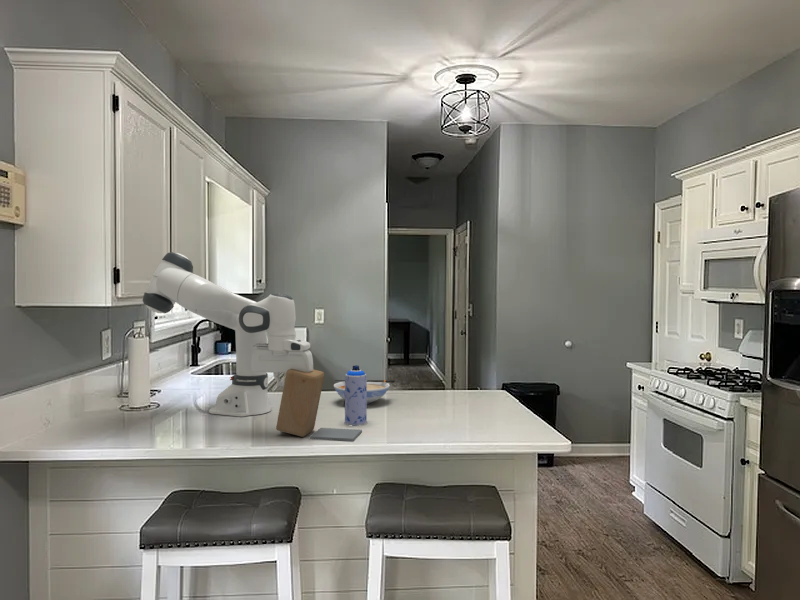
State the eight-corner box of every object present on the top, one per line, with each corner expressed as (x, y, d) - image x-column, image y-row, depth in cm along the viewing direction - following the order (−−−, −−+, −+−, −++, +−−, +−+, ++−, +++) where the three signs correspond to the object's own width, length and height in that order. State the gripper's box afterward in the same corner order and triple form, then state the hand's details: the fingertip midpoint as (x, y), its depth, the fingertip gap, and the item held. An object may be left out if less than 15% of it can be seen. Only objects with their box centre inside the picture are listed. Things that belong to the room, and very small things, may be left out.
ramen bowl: (324, 408, 227) (324, 387, 226) (337, 396, 249) (337, 377, 249) (388, 410, 224) (388, 388, 223) (395, 398, 246) (395, 378, 246)
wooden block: (303, 438, 183) (315, 376, 182) (274, 430, 185) (285, 369, 184) (314, 430, 193) (325, 371, 191) (286, 422, 195) (297, 364, 193)
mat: (309, 439, 182) (309, 436, 182) (320, 430, 193) (320, 427, 193) (353, 441, 180) (353, 438, 180) (361, 432, 191) (361, 429, 191)
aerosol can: (352, 419, 208) (353, 363, 208) (371, 422, 204) (371, 365, 204) (339, 424, 201) (339, 366, 201) (358, 426, 198) (358, 368, 197)
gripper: (247, 344, 187) (247, 387, 188) (308, 345, 183) (308, 389, 184) (256, 342, 193) (256, 383, 194) (314, 343, 190) (315, 385, 190)
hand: (282, 386), depth 189 cm, fingers closed
